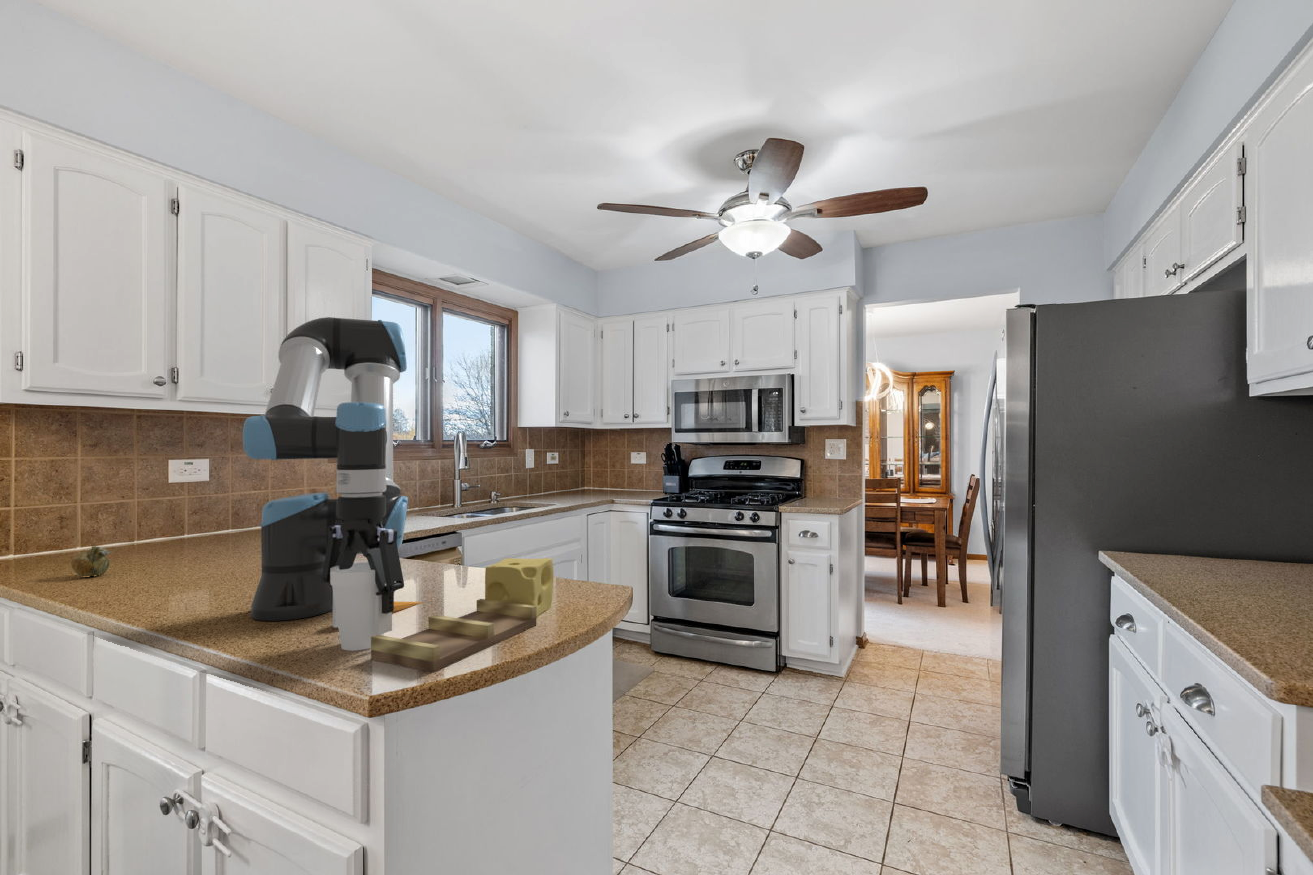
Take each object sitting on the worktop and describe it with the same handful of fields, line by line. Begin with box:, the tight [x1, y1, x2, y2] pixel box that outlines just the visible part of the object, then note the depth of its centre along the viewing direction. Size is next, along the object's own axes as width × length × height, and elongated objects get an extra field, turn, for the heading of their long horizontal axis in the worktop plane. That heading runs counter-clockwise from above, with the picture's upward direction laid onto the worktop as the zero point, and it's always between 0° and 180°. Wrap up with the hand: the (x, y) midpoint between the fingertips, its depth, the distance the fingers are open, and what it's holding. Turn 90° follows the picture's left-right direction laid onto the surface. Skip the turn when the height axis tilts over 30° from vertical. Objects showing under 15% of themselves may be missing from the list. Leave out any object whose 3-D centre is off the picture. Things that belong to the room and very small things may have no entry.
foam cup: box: [330, 560, 386, 652], centre depth 102 cm, size 10×9×13 cm
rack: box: [370, 598, 537, 673], centre depth 103 cm, size 13×25×4 cm, turn 155°
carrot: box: [392, 601, 423, 614], centre depth 119 cm, size 20×4×4 cm, turn 155°
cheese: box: [484, 557, 555, 619], centre depth 121 cm, size 10×11×10 cm
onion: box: [71, 545, 111, 577], centre depth 156 cm, size 8×8×8 cm
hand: (362, 628), depth 102 cm, fingers closed on foam cup, 9 cm apart
